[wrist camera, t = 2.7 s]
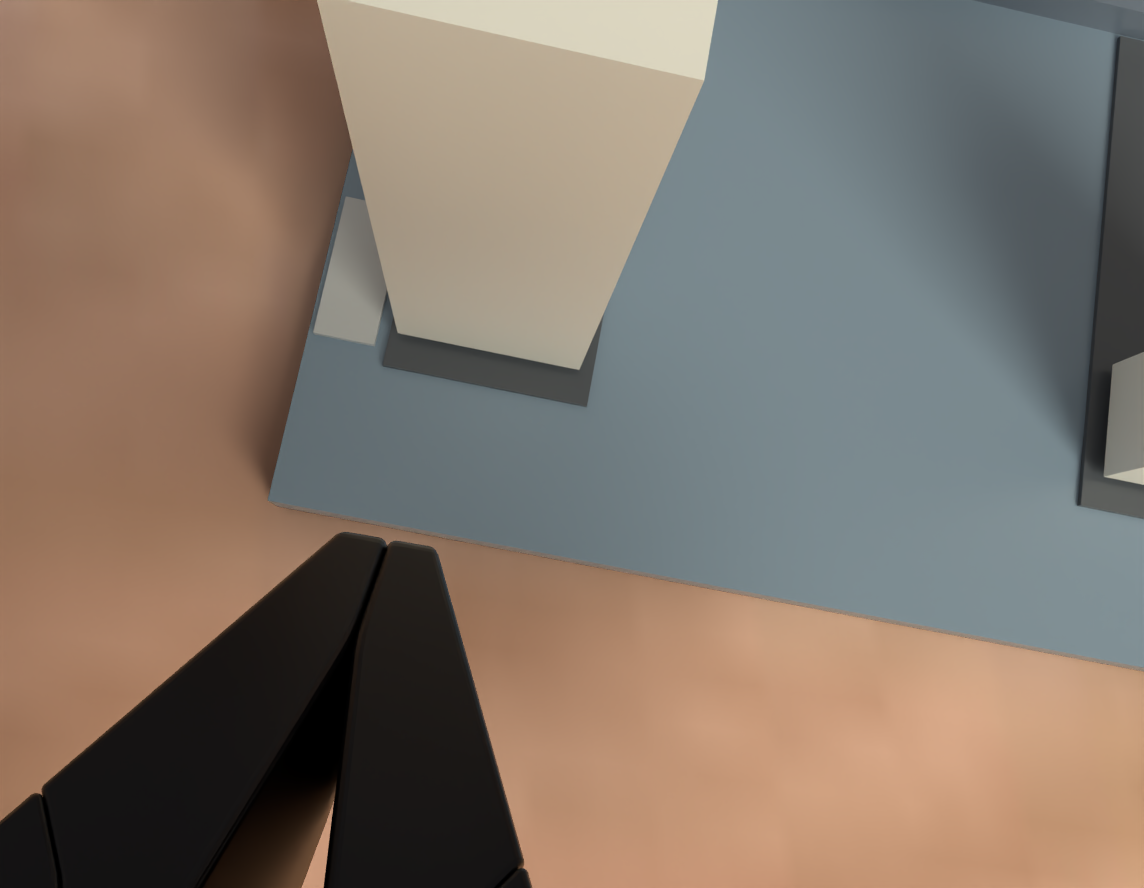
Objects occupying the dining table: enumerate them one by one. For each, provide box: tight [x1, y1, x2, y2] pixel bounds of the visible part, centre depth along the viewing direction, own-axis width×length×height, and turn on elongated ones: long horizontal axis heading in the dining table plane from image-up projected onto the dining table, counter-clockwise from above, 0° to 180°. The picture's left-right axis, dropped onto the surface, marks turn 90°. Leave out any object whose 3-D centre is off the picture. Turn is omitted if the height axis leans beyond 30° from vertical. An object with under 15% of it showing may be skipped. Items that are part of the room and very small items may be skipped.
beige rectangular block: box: [317, 0, 718, 370], centre depth 12 cm, size 2×3×9 cm, turn 80°
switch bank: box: [268, 0, 1144, 671], centre depth 18 cm, size 12×18×2 cm, turn 79°
